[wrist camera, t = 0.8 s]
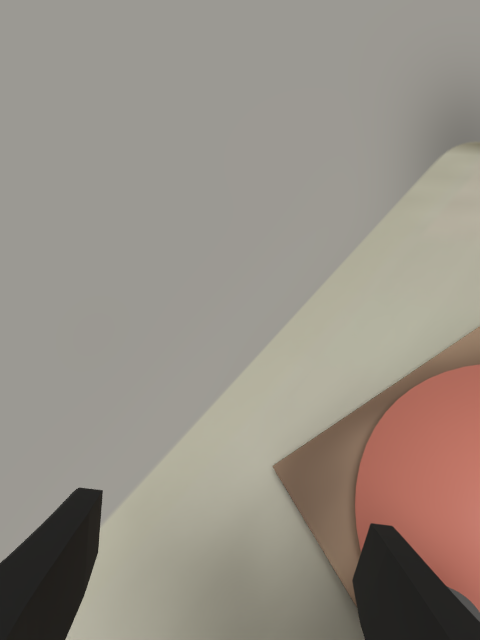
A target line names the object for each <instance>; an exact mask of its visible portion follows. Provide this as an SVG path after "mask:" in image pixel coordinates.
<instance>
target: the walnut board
mask: <svg viewBox="0 0 480 640" xmlns="http://www.w3.org/2000/svg"><path fill="white" fill-rule="evenodd" d="M473 365H480V327H478V328H477V329H475V330H474V331H472V332H471V333H469V334H468V335H466V336H465V337H463V338H462V339H460V340H459V341H458V342H456V343H455V344H453V345H452V346H450V347H449V348H447V349H446V350H444V351H443V352H441V353H440V354H438V355H437V356H435V357H434V358H432V359H431V360H429V361H428V362H426V363H425V364H423V365H422V366H420V367H419V368H417V369H416V370H414V371H413V372H412V373H410V374H409V375H407V376H406V377H404V378H403V379H401V380H400V381H398V382H397V383H395V384H394V385H392V386H391V387H389V388H388V389H386V390H385V391H383V392H382V393H380V394H379V395H377V396H376V397H374V398H373V399H371V400H370V401H368V402H367V403H366V404H364V405H363V406H361V407H360V408H358V409H357V410H355V411H354V412H352V413H351V414H349V415H348V416H346V417H345V418H343V419H342V420H340V421H339V422H337V423H336V424H334V425H333V426H331V427H330V428H328V429H327V430H325V431H324V432H322V433H321V434H320V435H318V436H317V437H315V438H314V439H312V440H311V441H309V442H308V443H306V444H305V445H303V446H302V447H300V448H299V449H297V450H296V451H294V452H293V453H291V454H290V455H288V456H287V457H285V458H284V459H282V460H281V461H279V462H278V463H276V464H275V465H274V466H273V468H274V470H275V471H276V473H277V475H278V476H279V478H280V480H281V481H282V483H283V485H284V486H285V488H286V490H287V491H288V493H289V495H290V496H291V498H292V500H293V501H294V503H295V505H296V506H297V508H298V510H299V512H300V513H301V515H302V517H303V518H304V520H305V522H306V523H307V525H308V527H309V528H310V530H311V532H312V533H313V535H314V537H315V538H316V540H317V542H318V543H319V545H320V547H321V548H322V550H323V552H324V553H325V555H326V557H327V558H328V560H329V562H330V563H331V565H332V567H333V568H334V570H335V572H336V573H337V575H338V577H339V578H340V580H341V582H342V583H343V585H344V587H345V588H346V590H347V592H348V593H349V595H350V597H351V598H352V600H353V602H354V603H355V605H356V607H357V604H356V599H355V593H354V588H353V582H352V579H353V576H354V573H355V570H356V567H357V564H358V561H359V558H360V555H361V550H360V545H359V540H358V535H357V529H356V516H355V494H356V482H357V477H358V472H359V466H360V462H361V459H362V456H363V453H364V450H365V447H366V444H367V442H368V440H369V438H370V436H371V434H372V432H373V430H374V428H375V427H376V425H377V424H378V422H379V421H380V419H381V418H382V417H383V415H384V414H385V412H386V411H387V410H388V409H389V408H390V407H391V406H392V405H393V404H394V403H395V402H396V401H397V400H398V399H399V398H400V397H401V396H403V395H404V394H405V393H407V392H408V391H409V390H410V389H412V388H413V387H415V386H417V385H418V384H420V383H422V382H424V381H425V380H427V379H429V378H431V377H434V376H436V375H439V374H441V373H444V372H446V371H450V370H454V369H458V368H461V367H466V366H473Z"/></svg>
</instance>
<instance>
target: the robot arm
mask: <svg viewBox="0 0 480 640" xmlns="http://www.w3.org/2000/svg"><path fill="white" fill-rule="evenodd" d="M102 492H103V491H102V490H94V489H85V488H78V489H76V490H75V491H74V492H73V493H72V494H71V495H70V496H69V497H68V498H67V499H66V500H65V501H64V502H63V504H61V505H60V507H59V508H58V509H57V510H56V511H55V512H54V513H53V514H52V515H51V516H50V517H49V518H48V519H47V520H46V521H45V522H44V523H43V524H42V525H41V526H40V527H39V528H38V529H37V530H36V531H34V532H33V533H32V534H31V535H30V536H29V537H28V538H27V539H26V540H25V541H24V542H23V543H22V544H21V545H20V546H19V547H17V548H16V549H15V550H14V551H13V552H12V553H11V554H10V555H9V556H8V557H7V558H6V559H5V560H3V561H2V562H1V563H0V640H65V639H66V637H67V634H68V632H69V630H70V627H71V625H72V623H73V620H74V618H75V616H76V613H77V611H78V609H79V606H80V604H81V601H82V599H83V597H84V594H85V591H86V588H87V585H88V582H89V579H90V576H91V573H92V569H93V566H94V563H95V560H96V557H97V554H98V546H99V532H100V519H101V505H102ZM352 582H353V588H354V593H355V599H356V604H357V609H358V614H359V618H360V623H361V627H362V630H363V634H364V637H365V640H480V622H479V621H478V620H477V618H476V617H475V616H474V615H473V614H472V613H471V612H470V611H469V610H468V609H467V608H466V607H465V606H464V605H463V604H462V603H461V602H460V600H459V599H458V598H457V597H456V596H455V595H454V594H453V593H452V592H451V591H450V590H449V588H448V587H447V586H446V585H445V584H444V583H443V582H442V581H441V580H440V578H439V577H438V576H437V575H436V574H435V573H434V572H433V571H432V569H431V568H430V567H429V566H428V565H427V564H426V563H425V562H424V560H423V559H422V558H421V557H420V556H419V555H418V554H417V553H416V551H415V550H414V549H413V548H412V547H411V546H410V545H409V543H408V542H407V541H406V540H405V539H404V538H403V537H402V536H401V535H400V533H399V532H398V531H397V530H396V529H395V528H394V527H393V526H390V525H382V524H374V523H370V527H369V530H368V533H367V536H366V539H365V542H364V545H363V548H362V551H361V555H360V558H359V561H358V564H357V567H356V570H355V573H354V576H353V579H352Z"/></svg>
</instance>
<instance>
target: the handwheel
mask: <svg viewBox="0 0 480 640" xmlns="http://www.w3.org/2000/svg"><path fill="white" fill-rule="evenodd" d="M355 516H356V529H357V535H358V540H359V545H360V550H361V551H362V548H363V545H364V542H365V539H366V536H367V533H368V530H369V527H370V523H374V524H382V525H390V526H393V527H394V528H395V529H396V530H397V531H398V532H399V533H400V535H401V536H402V537H403V538H404V539H405V540H406V541H407V542H408V543H409V545H410V546H411V547H412V548H413V549H414V550H415V551H416V553H417V554H418V555H419V556H420V557H421V558H422V559H423V560H424V562H425V563H426V564H427V565H428V566H429V567H430V568H431V569H432V571H433V572H434V573H435V574H436V575H437V576H438V577H439V578H440V580H441V581H442V582H443V583H444V584H445V585H446V586H447V587H448V588H449V590H450V591H451V592H452V593H453V594H454V595H455V596H456V597H457V598H458V599H459V600H460V602H461V603H462V604H463V605H464V606H465V607H466V608H467V609H468V610H469V611H470V612H471V613H472V614H473V615H474V616H475V617H476V618H477V620H478V621H479V622H480V365H473V366H466V367H461V368H458V369H454V370H450V371H446V372H444V373H441V374H439V375H436V376H434V377H431V378H429V379H427V380H425V381H424V382H422V383H420V384H418V385H417V386H415V387H413V388H412V389H410V390H409V391H408V392H407V393H405V394H404V395H403V396H401V397H400V398H399V399H398V400H397V401H396V402H395V403H394V404H393V405H392V406H391V407H390V408H389V409H388V410H387V411H386V412H385V414H384V415H383V417H382V418H381V419H380V421H379V422H378V424H377V425H376V427H375V428H374V430H373V432H372V434H371V436H370V438H369V440H368V442H367V444H366V447H365V450H364V453H363V456H362V459H361V462H360V466H359V472H358V477H357V482H356V494H355Z"/></svg>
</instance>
